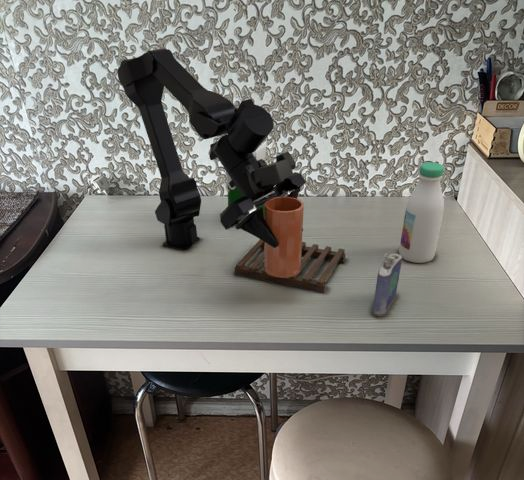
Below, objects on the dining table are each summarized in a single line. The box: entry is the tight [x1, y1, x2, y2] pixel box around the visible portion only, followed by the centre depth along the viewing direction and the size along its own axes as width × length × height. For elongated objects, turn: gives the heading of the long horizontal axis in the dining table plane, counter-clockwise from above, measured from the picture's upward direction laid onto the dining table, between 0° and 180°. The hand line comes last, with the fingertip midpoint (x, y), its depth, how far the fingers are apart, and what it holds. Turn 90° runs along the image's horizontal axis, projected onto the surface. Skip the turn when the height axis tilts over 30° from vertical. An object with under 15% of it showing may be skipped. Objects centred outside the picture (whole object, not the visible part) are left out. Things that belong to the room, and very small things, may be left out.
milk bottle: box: [398, 161, 445, 264], centre depth 112 cm, size 8×8×20 cm
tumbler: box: [263, 197, 305, 278], centre depth 99 cm, size 7×7×13 cm
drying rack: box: [234, 239, 347, 294], centre depth 115 cm, size 20×15×2 cm
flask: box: [372, 252, 403, 318], centre depth 100 cm, size 9×3×11 cm, turn 151°
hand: (289, 239), depth 98 cm, fingers closed on tumbler, 7 cm apart
